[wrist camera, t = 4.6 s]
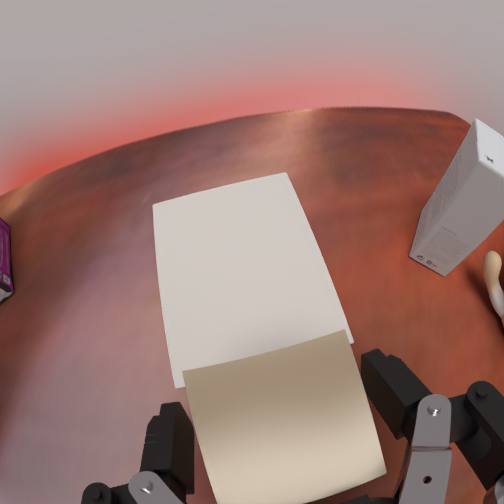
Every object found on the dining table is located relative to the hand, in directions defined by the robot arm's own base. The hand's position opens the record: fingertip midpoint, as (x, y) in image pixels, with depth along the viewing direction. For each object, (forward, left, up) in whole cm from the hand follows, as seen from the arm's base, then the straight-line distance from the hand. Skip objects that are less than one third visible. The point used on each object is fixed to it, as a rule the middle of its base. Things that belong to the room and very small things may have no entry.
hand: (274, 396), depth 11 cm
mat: (-6, +8, -8) cm, 13 cm away
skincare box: (+9, +17, -8) cm, 21 cm away
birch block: (+1, -1, -8) cm, 8 cm away
